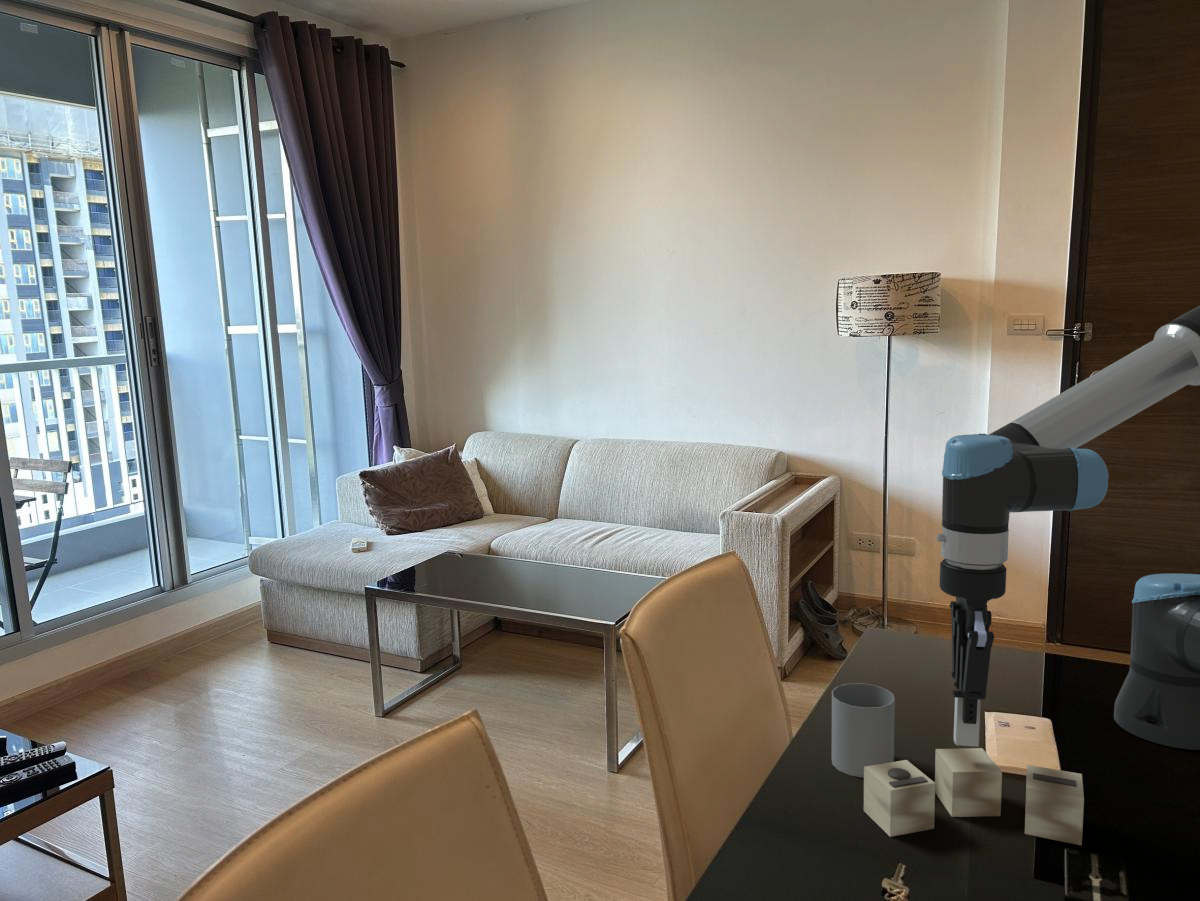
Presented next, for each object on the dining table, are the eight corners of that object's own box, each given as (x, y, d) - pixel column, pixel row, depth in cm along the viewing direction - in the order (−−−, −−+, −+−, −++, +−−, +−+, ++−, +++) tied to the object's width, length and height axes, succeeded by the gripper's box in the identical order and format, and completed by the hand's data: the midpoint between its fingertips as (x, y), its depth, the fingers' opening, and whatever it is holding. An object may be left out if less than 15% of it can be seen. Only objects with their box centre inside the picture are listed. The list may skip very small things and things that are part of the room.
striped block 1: (905, 803, 113) (906, 758, 112) (934, 829, 107) (935, 781, 106) (863, 811, 111) (864, 765, 110) (890, 837, 106) (890, 789, 105)
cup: (896, 780, 118) (897, 709, 117) (833, 776, 120) (833, 706, 119) (889, 750, 127) (890, 684, 125) (830, 747, 128) (830, 681, 127)
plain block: (980, 791, 115) (982, 748, 114) (1000, 816, 109) (1002, 771, 108) (934, 792, 115) (935, 749, 114) (951, 817, 109) (952, 772, 109)
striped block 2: (1079, 819, 108) (1081, 772, 107) (1081, 846, 103) (1084, 796, 102) (1025, 809, 111) (1027, 763, 110) (1024, 834, 105) (1026, 785, 104)
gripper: (931, 547, 115) (926, 718, 118) (951, 574, 102) (944, 766, 105) (993, 549, 113) (985, 722, 117) (1020, 577, 101) (1011, 770, 104)
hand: (965, 743), depth 111 cm, fingers closed
